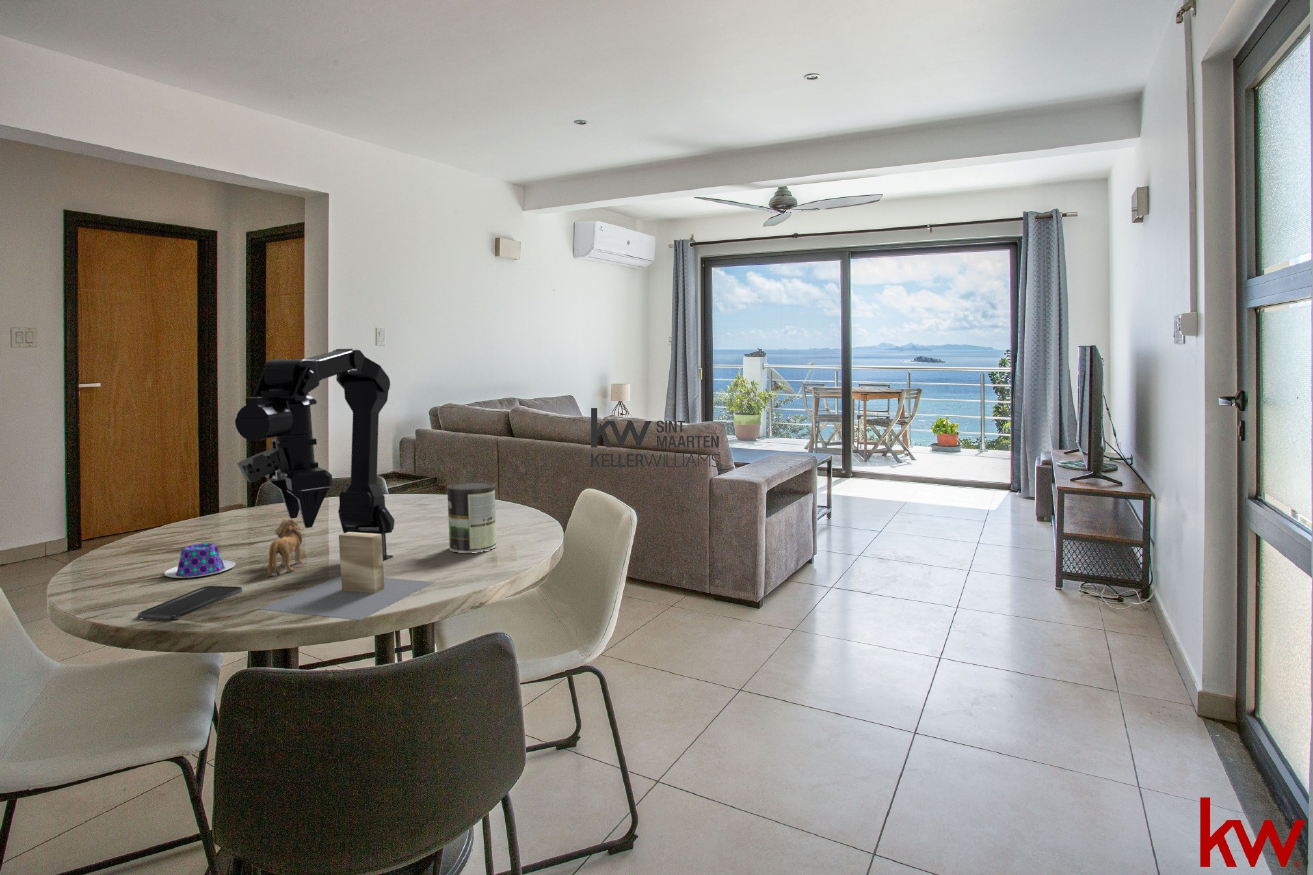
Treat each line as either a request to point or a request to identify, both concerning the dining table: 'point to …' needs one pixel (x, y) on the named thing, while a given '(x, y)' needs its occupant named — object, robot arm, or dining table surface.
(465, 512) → the coffee can
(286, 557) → the lion figurine
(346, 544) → the maple tile
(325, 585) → the rubber mat
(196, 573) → the purple patterned hat
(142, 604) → the dining table surface
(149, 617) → the phone
